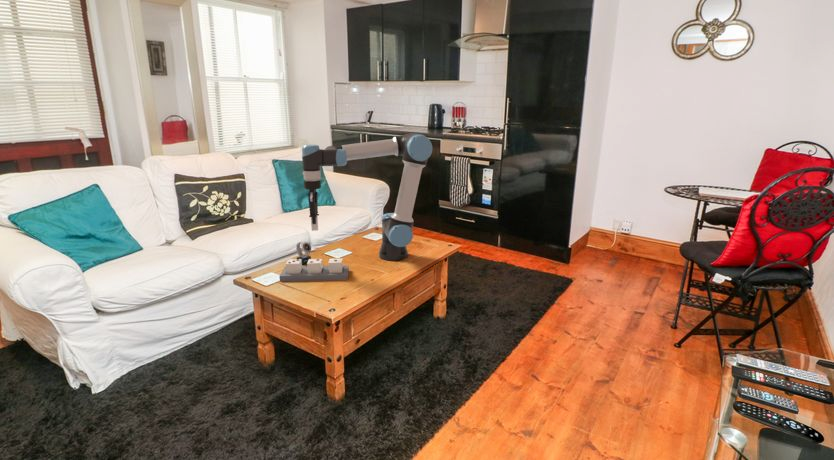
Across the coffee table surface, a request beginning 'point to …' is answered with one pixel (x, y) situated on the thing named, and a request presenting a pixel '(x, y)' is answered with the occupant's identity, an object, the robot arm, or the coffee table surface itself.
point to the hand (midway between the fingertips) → (314, 229)
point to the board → (314, 275)
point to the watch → (306, 249)
